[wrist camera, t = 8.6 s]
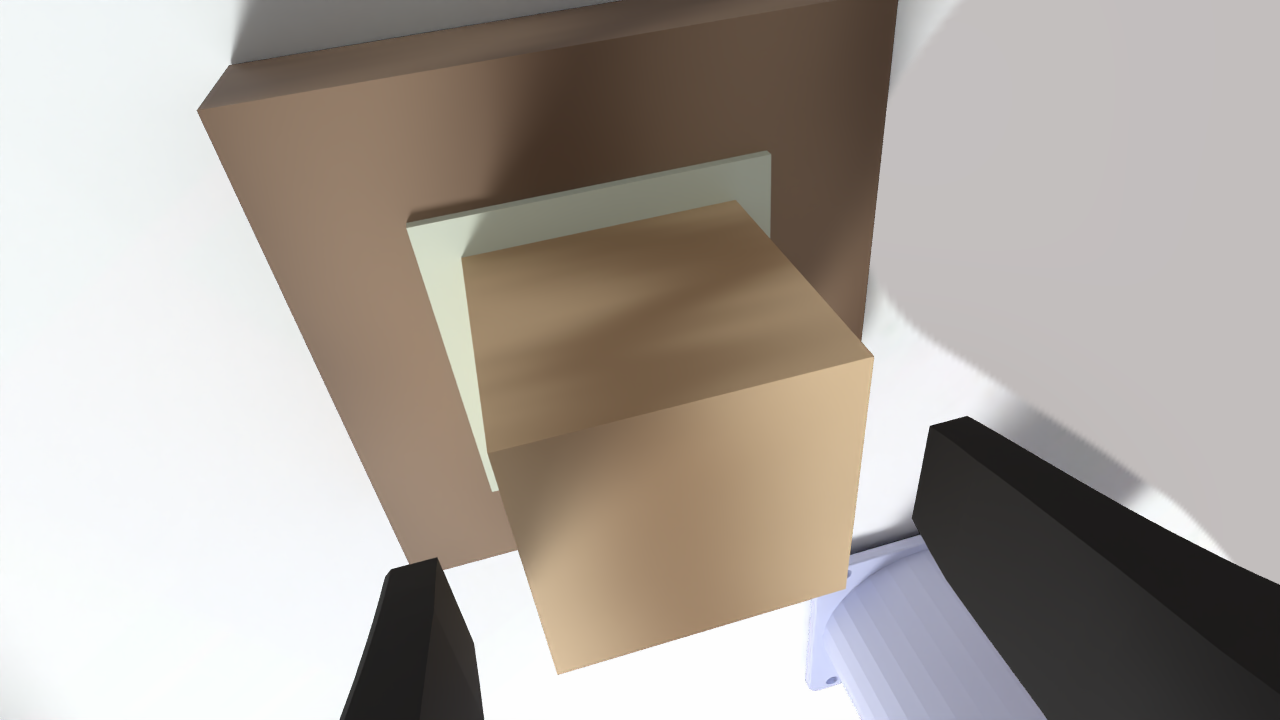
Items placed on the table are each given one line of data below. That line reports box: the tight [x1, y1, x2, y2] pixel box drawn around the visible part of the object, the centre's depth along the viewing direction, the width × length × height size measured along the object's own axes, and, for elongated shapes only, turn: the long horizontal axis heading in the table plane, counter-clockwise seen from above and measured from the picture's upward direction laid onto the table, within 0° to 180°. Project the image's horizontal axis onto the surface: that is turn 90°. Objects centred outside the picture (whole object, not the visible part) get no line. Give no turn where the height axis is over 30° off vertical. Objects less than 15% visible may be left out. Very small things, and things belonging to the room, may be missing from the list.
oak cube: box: [461, 200, 874, 675], centre depth 13 cm, size 5×5×5 cm
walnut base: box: [197, 0, 898, 570], centre depth 15 cm, size 11×11×3 cm
